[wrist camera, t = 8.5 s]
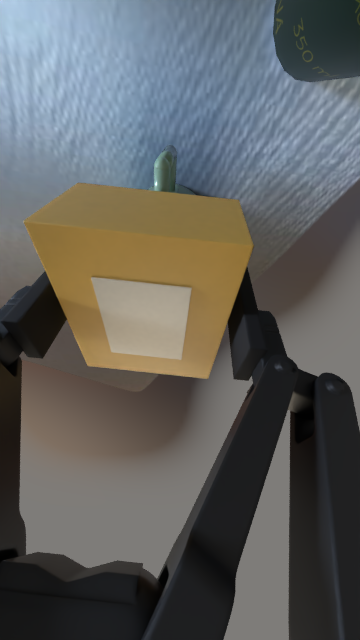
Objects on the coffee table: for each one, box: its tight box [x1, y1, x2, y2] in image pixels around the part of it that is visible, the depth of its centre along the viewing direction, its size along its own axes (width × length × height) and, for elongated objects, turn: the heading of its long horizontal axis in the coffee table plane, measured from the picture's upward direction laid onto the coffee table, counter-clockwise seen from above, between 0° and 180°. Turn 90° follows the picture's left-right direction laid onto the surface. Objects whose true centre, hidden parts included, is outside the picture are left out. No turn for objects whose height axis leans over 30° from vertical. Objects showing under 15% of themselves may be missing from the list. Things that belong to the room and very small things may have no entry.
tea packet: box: [24, 183, 254, 379], centre depth 13 cm, size 10×8×5 cm
